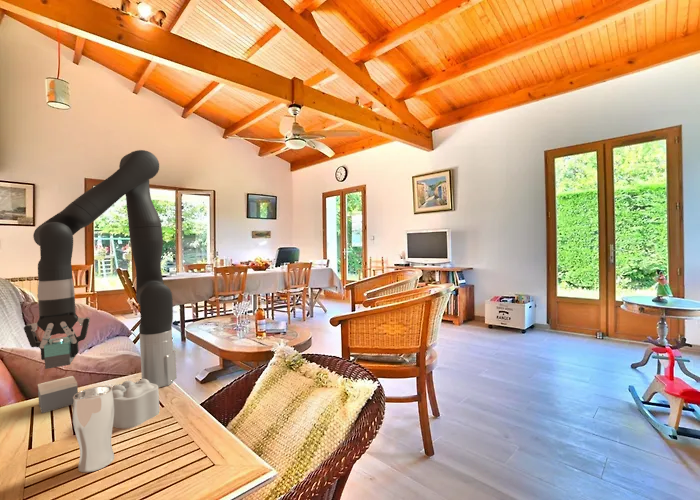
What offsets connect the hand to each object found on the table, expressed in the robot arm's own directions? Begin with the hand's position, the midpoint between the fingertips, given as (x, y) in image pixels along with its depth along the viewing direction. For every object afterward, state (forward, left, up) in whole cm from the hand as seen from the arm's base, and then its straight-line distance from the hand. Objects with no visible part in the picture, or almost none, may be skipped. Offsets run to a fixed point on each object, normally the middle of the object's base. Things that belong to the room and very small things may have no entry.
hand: (60, 358), depth 93 cm
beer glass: (-24, +24, -15) cm, 37 cm away
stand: (+6, -7, -15) cm, 18 cm away
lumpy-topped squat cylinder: (-20, +4, -16) cm, 25 cm away
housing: (0, 0, -1) cm, 1 cm away
